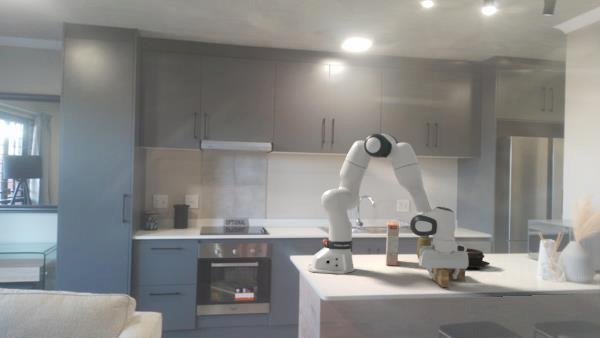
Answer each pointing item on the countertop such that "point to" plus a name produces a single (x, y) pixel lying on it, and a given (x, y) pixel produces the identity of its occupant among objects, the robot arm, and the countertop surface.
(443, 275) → the stool leg
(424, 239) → the squeeze bottle
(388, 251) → the cracker box
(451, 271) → the stool seat
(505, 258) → the countertop surface
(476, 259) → the casserole
